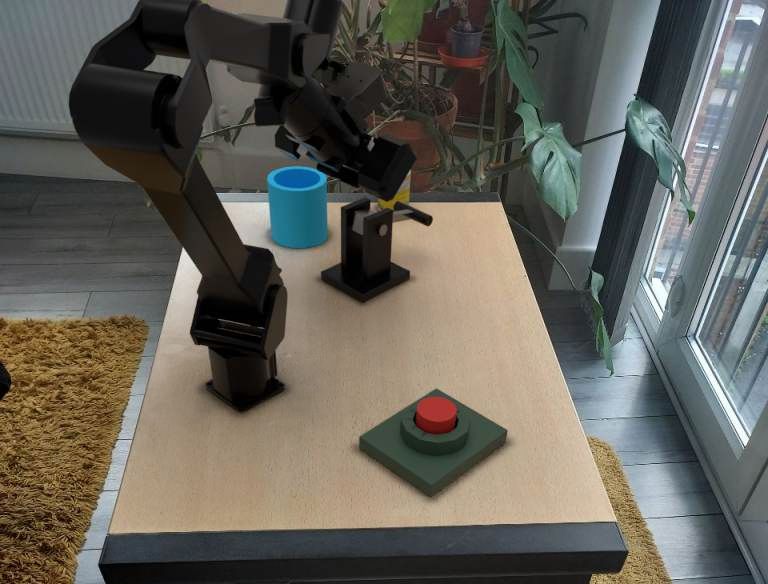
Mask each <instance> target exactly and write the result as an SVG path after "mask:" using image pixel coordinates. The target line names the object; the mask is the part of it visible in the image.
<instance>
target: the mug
mask: <svg viewBox="0 0 768 584" xmlns="http://www.w3.org/2000/svg"><path fill="white" fill-rule="evenodd" d="M327 178H328V177H327V175H326V174H324V173H322V172H319V171H318V170H317V168H313V167H309V166H308V167H307V166H299V165H297V166H296V165H293V166H285V167H281V168H278V169H277V168H276V169H275V170H273V171H271V172H270V173H269V174H268V175H267V180H266V181H267V182H266V183H267V194H268V195H267V197H268V206H269V207H268V211H269V221H270V224H269V225H270V235H271V239H272V240H273V241H274V242H275V243H276V244H277V245H279V246H283V247H284V248H285V247H286V248H292V249H307V248H308V249H309V248H313V247H316V246H320V245H321V244H322V243H324V242H326V240H327V239H328V237H329V236H328V231H329V230H328V189H327V188H328V187H327V186H328V185H327Z"/></svg>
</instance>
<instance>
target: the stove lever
mask: <svg viewBox="0 0 768 584" xmlns="http://www.w3.org/2000/svg"><path fill="white" fill-rule="evenodd" d="M393 209H394V211H395V212H393V224H395V223H399V222H405V221H410V220H412V221H414V222H416V223H419V224H421V225H423V226H425V227H430V226H431V225H432V224H433V221H434V218H433V217H434V216H433V215H431V214H429V213H426V212H424V211H422V210H420V209H417V208H416V207H413V206H411V205H410V204H409V205H407V204H404V203H402V202H400V201H397V202H396V203H395V204H394V207H393ZM376 212H377V211H376V210H373V209H371V208H370V209H366V210H360V211H355V212H354V219H353V226H352V230H353V231H355V232H357V233H359V234H361V235H363V218H364V217H367V216H369V215H371V214H374V213H376Z"/></svg>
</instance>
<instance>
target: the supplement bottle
mask: <svg viewBox="0 0 768 584" xmlns="http://www.w3.org/2000/svg"><path fill="white" fill-rule="evenodd" d="M411 176H412V170H411V169H410V171H409V173H408V175H407V176H406V178H405V180H404V181H403V183H402V185H401V187H400V188H399V190H398V192H397V193H396V195H395V197H394V199H392V200H390V201H388V202H386V201H384V200H382V199H379V198H377V209H378V210H379V211H381V210H383V209H385V208H390V209H392V210H393V212H395V211H394V209H393V207H394V204H395V203H396V202H397V201H400V202H402V203H404V204H407V205H409V206H410V191H411Z"/></svg>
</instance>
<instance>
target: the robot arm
mask: <svg viewBox="0 0 768 584" xmlns="http://www.w3.org/2000/svg"><path fill="white" fill-rule="evenodd" d="M342 15H343V4H342V2H341V1H340V0H286V3H285V8H284V11H283V15H282V17H276V16H268V15H261V14H252V13H245V12H243V13H236V14H235V13H231V12H229V11H226V10H223V9H220V8H216V7H214V6H211V5H209V4H208V2H203V0H138V1H137V3H136V4H135V7H134V9H133V10H132V13H131V15H130V17H129V18H128V19H127V20H125V21H124V22H123V23H121V24H120V25H119V26H117V27H116V28H114V29H113V30H112V31H111V32H109V33H108V34H106V35H105V36H104V37H102V38H101V39H100V40H98V41H97V42H96V43H94V45H93V46H92V47H91V49H90V51H89V52H88V54H87V57H86V58H85V60H84V62H83V64H82V65H81V68H80V69H79V71H78V73H77V75H76V77H75V79H74V81H73V83H72V85H71V88H70V90H69V94H68V108H69V109H68V110H69V115H70V118H71V123H72V125H73V128H74V131H75V133H76V134H77V137H78V138H79V140H80V141H81V143H82V144H83V145H84V146H85V147H86V148H87V149H88V150H89V151H90V152H91V153H92V154H93V155H94V156H96V158H97V159H98V160H100V161H101V163H103V164H104V165H105V166H107V167H108V168H110V169H112V170H114V171H115V172H117V173H119V174H121V175H122V176H124V177H126V178H128V179H130V180H131V181H133V182H135V183H137V184H138V185H139V186H141V187H142V188H143V190H144V191H145V193H146V194H147V196H148V197H149V199H150V201H151V202H152V203H153V205H154V206H155V208H156V209H157V211H158V212H159V214H160V216H161V217H162V218H163V220H164V221H165V223H166V224H167V226H168V227H169V228H170V230H171V232H172V233H173V234H174V236H175V238H176V239H177V241H178V242H179V243H180V245H181V247H182V248H183V250H184V251H185V252H186V254H187V255H188V257H189V258H190V260H191V261H192V263H193V264H194V266H195V267H196V269H197V270H198V272H199V273H200V275H201V278H200V281H199V284H198V286H197V290H196V294H197V299H196V304H195V307H194V310H193V311H194V312H193V316H192V320H191V325H190V329H189V335H190V337H191V340H192V342H193V344H194V345H195V346H198V347H200V346H203V347H207V352H208V359H209V365H210V371H211V379H210V380H208V381H205V389H206V390H208V391H209V392H210V393H212V394H213V395H215V397H217V398H219V399H220V400H221V401H223V402H224V403H226V404H227V405H229V406H230V407H231V408H233V409H234V410H236V411H237V412H239V413H244V412H246V411H248V410H250V409H251V408H253V407H255V406H257V405H259V404H261V403H262V402H264V401H266V400H268V399H270V398H271V397H273V396H275V395H278V394H279V393H281V392H282V391H284V390H285V389H286V385H285V383H284V382H283V381H281V380H279V379H278V378H276V377H278V374H279V373H278V361H277V349H278V348H279V347H280V345H281V344H282V342H283V341H284V339H285V337H286V326H287V325H286V324H287V312H288V299H289V298H288V297H289V296H288V289H287V287H286V286H285V283H284V280H283V278H282V276H281V274H282V272H283V271H282V269H283V268H281V267H279V265H278V264H277V261H276V258H275V255H274V253H273V252H272V251H271V250H270V249H269V248H266V247H262V246H256V245H250V244H246V243H244V242H243V240H242V239H241V237H240V235H239V233H238V231H237V229H236V228H235V225H234V224H233V222H232V221H231V218H230V216H229V214H228V213H227V210H226V208H225V207H224V205H223V203H222V201H221V199H220V197H219V196H218V194H217V192H216V191H215V188H214V186H213V185H212V183H211V181H210V178H209V177H208V175H207V173H206V171H205V170H204V167H203V165H202V164H201V162H200V160H199V158H198V155H197V150H198V147H199V144H200V141H201V137H202V135H203V131H204V122H205V120H206V119H207V116H208V113H209V111H210V109H211V107H212V104H213V96H212V92H211V87H210V82H209V77H208V73H207V67H208V66H209V65H208V64H209V63H214V64H220V65H223V66H224V65H225V66H226V71H227V72H228V74H230V75H231V76H232V77H234V78H236V79H237V80H239V81H241V82H243V83H248V84H249V83H250V84H256V85H259V89H258V93H257V97H255V98H254V99H253V104H254V113H253V118H254V124H255V126H256V127H257V128H264V127H265V128H266V127H278V128H277V130H276V132H275V134H274V147H275V148H276V149H277V150H278V151H279V152H280V153H281V154H282V155H283V156H285V157H288V158H290V159H292V160H294V161H297V162H299V160H300V158H301V156H302V154H300V153H299V151H298V149H299V147H300V146H303V147H304V148H305V149H306V150H307V151H306V153H305V156H306V157H307V158H308V159H309V160H311V161H312V162H315V163H317V164H316V167H315V169H317V170H318V171H319V172H322V173H324V174H325V176H328V177H330V178H333V179H336V180H339V182H341V183H343V184H345V185H348V186H350V187H352V188H355V189H359V188H361V189H362V190H363V191H365V192H366V193H368V194H369V195H370V196H373V197H375V198H377V199H378V198H379V199H382V200H384V201H386V202H388V201H390V200H392V199H394V197H395V195H396V193H397V192H398V190H399V188H400V187H401V185H402V183H403V181H404V180H405V178H406V176H407V175H408V173H409V171H410V170H411V169H412V168H413V166H414V164H415V163H416V161H417V159H418V156H417V151H416V150H415V149H414V147H413V146H412V145H411V144H410V142H409V141H405V140H403V139H400V138H398V137H395V136H393V135H390V134H388V133H385V134H383V135H380V136H378V137H374V136H373V135H372V134H369V133H366V132H367V130H368V128H369V126H370V124H369V123H368V121H367V120H366V118H368V117H369V116H370V115H371V114H372V113H374V111H375V110H376V109H377V108H378V107H379V106H380V105H381V104H384V103H386V101H387V100H388V97H389V95H388V91H387V87H386V85H385V82H384V77H383V75H382V70H381V69H380V68H378V67H376V66H373V65H370V64H367V63H365V62H362V61H350V60H346V61H345V62H344V63H343V62H342V61H341V60H338V59H336V58H332V54H333V53H332V52H333V50H334V45H335V42H336V39H337V34H338V30H339V26H340V23H341V19H342ZM157 56H161V57H162V56H163V57H169V58H176V59H183V60H189V64H188V66H187V68H186V69H185V72H184V74H183V76H180V75H179V74H174V73H168V72H161V71H156V70H155V71H154V70H149V69H148V70H147V68H148V67H149V66H151V65H152V64H153V63H154V61H155V59H156V57H157ZM319 70H321V83H320V81H319V80H318V79H317V78H316V77H315V75H314V74H315V73H316V72H317V71H319Z"/></svg>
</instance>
